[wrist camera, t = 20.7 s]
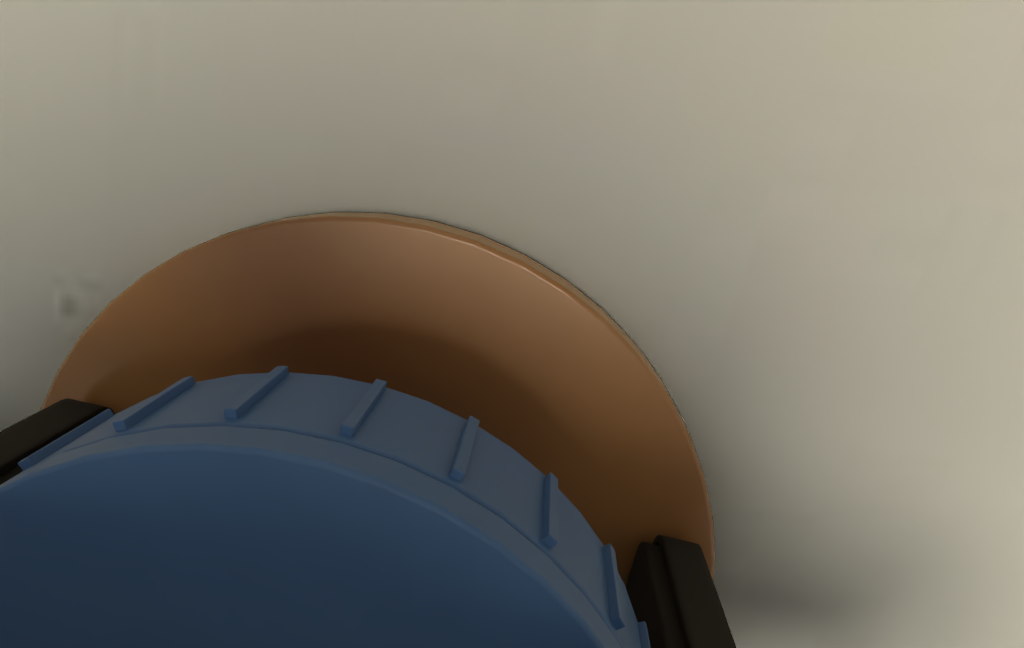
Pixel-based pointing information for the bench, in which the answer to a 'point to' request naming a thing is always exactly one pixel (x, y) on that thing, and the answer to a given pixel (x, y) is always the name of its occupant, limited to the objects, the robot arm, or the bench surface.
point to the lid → (298, 529)
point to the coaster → (417, 353)
